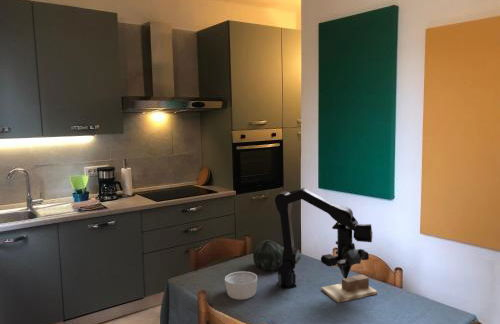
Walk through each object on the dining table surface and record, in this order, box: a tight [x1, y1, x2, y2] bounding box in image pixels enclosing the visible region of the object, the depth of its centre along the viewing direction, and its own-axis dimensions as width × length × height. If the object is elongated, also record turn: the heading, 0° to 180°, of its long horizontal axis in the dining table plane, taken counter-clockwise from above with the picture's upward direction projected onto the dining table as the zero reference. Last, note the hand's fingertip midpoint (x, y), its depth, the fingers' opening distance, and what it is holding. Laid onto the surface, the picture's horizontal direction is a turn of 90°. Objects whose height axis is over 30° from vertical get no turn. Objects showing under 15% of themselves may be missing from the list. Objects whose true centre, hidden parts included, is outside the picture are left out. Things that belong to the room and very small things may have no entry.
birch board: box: [321, 282, 378, 303], centre depth 161 cm, size 18×12×1 cm, turn 110°
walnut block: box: [341, 274, 370, 292], centre depth 162 cm, size 4×4×10 cm
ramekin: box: [224, 271, 258, 301], centre depth 162 cm, size 13×13×7 cm
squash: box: [252, 239, 284, 272], centre depth 189 cm, size 14×15×15 cm
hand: (345, 278), depth 160 cm, fingers closed
